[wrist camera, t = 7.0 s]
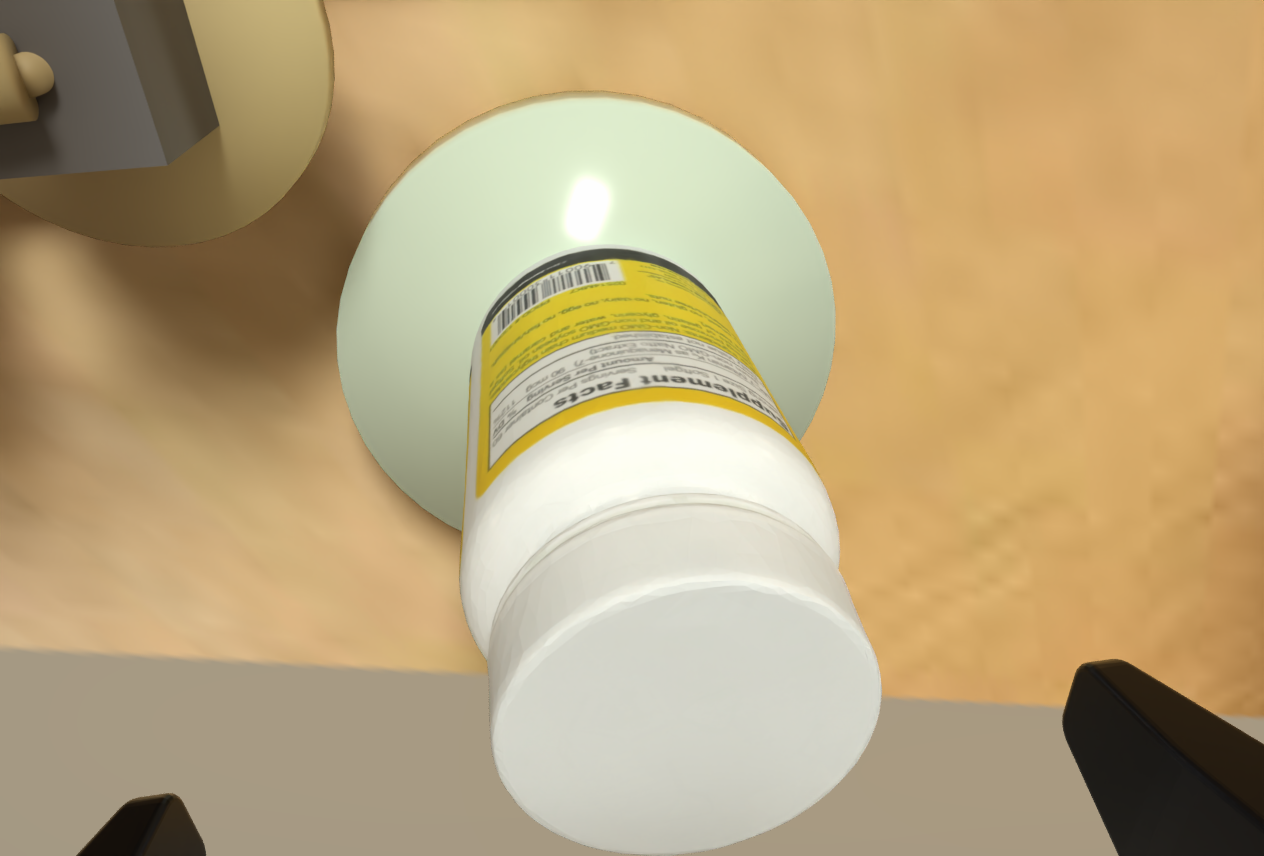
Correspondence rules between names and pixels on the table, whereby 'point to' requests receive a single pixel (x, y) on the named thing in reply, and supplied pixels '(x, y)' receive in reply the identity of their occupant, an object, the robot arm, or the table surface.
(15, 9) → the balance
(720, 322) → the supplement bottle
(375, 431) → the sage dish
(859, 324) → the table surface
